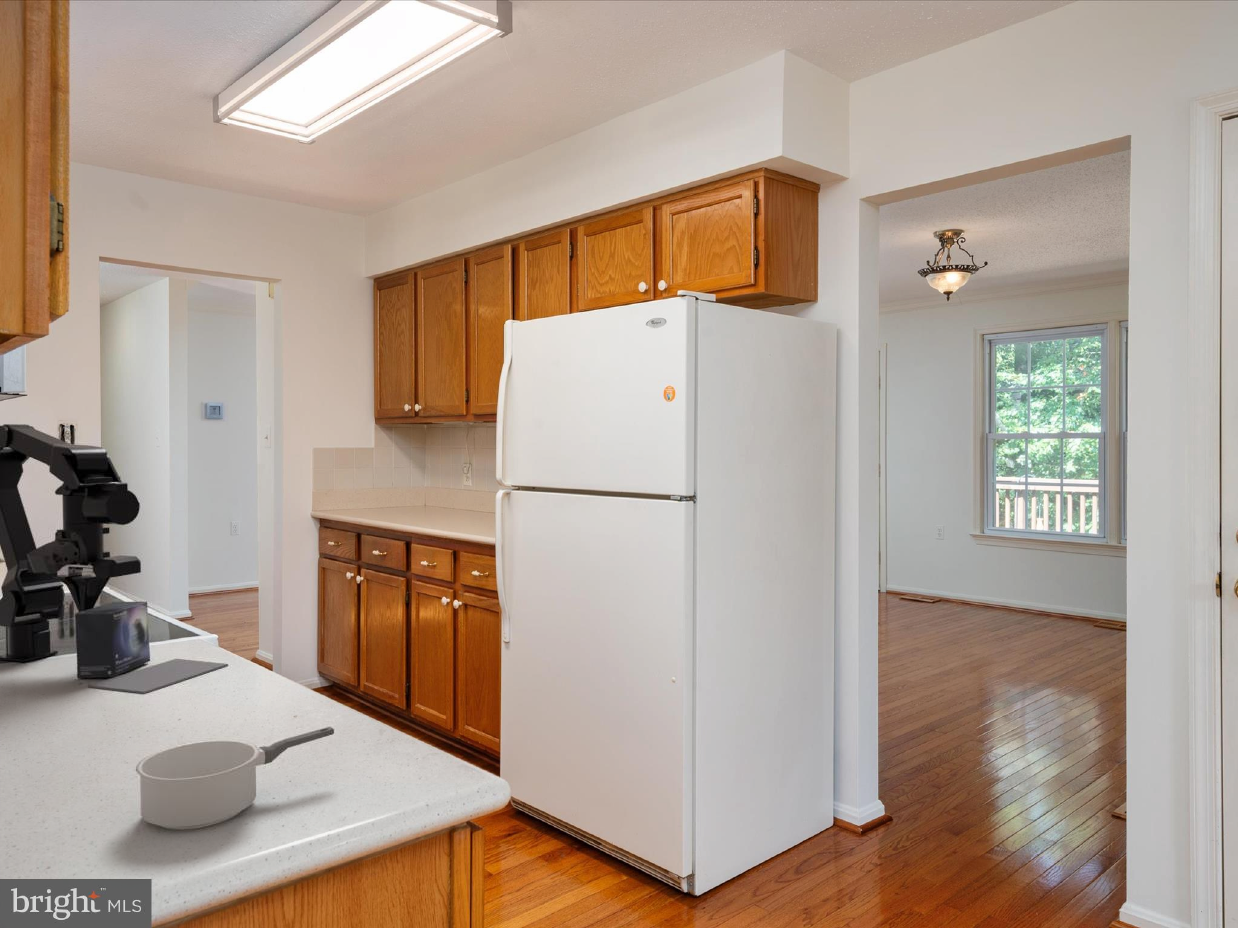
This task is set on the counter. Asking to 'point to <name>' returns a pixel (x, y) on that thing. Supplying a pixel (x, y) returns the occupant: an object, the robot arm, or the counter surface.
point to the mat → (158, 676)
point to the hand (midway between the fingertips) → (85, 616)
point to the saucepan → (206, 779)
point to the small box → (111, 639)
